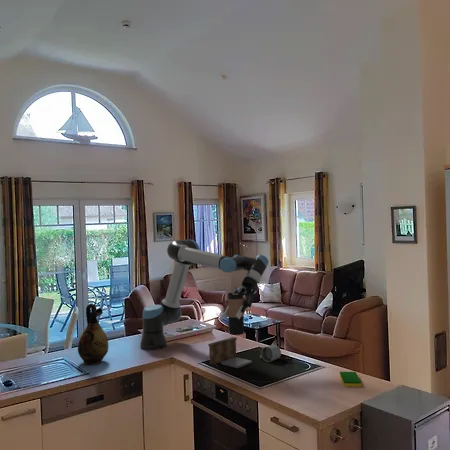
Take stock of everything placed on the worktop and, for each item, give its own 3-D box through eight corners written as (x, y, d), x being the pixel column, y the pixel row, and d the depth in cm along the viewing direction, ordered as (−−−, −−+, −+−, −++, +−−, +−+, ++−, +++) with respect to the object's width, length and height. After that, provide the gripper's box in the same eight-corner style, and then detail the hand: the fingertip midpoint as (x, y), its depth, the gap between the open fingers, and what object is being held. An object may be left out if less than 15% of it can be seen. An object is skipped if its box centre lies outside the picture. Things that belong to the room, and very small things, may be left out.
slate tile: (221, 364, 225) (220, 362, 225) (235, 359, 233) (235, 357, 233) (237, 368, 217) (237, 366, 217) (251, 362, 225) (251, 360, 225)
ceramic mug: (282, 359, 230) (281, 344, 230) (273, 363, 224) (272, 347, 224) (265, 356, 237) (265, 341, 237) (256, 360, 231) (255, 345, 231)
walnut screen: (212, 365, 224) (212, 344, 224) (208, 364, 225) (208, 344, 225) (237, 356, 237) (236, 337, 237) (233, 355, 239) (233, 336, 239)
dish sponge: (355, 377, 202) (355, 371, 202) (361, 387, 188) (361, 382, 188) (339, 376, 203) (339, 371, 203) (344, 387, 189) (343, 381, 189)
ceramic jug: (114, 361, 234) (113, 303, 234) (87, 368, 223) (86, 308, 223) (97, 355, 246) (96, 300, 246) (70, 362, 234) (69, 304, 235)
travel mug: (239, 335, 220) (238, 294, 220) (226, 334, 224) (224, 294, 224) (246, 332, 226) (245, 292, 227) (233, 331, 230) (232, 292, 231)
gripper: (270, 286, 230) (250, 323, 218) (239, 283, 244) (220, 318, 232) (263, 276, 226) (243, 314, 214) (233, 275, 240) (212, 309, 228)
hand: (231, 316), depth 223 cm, fingers closed on travel mug, 7 cm apart
